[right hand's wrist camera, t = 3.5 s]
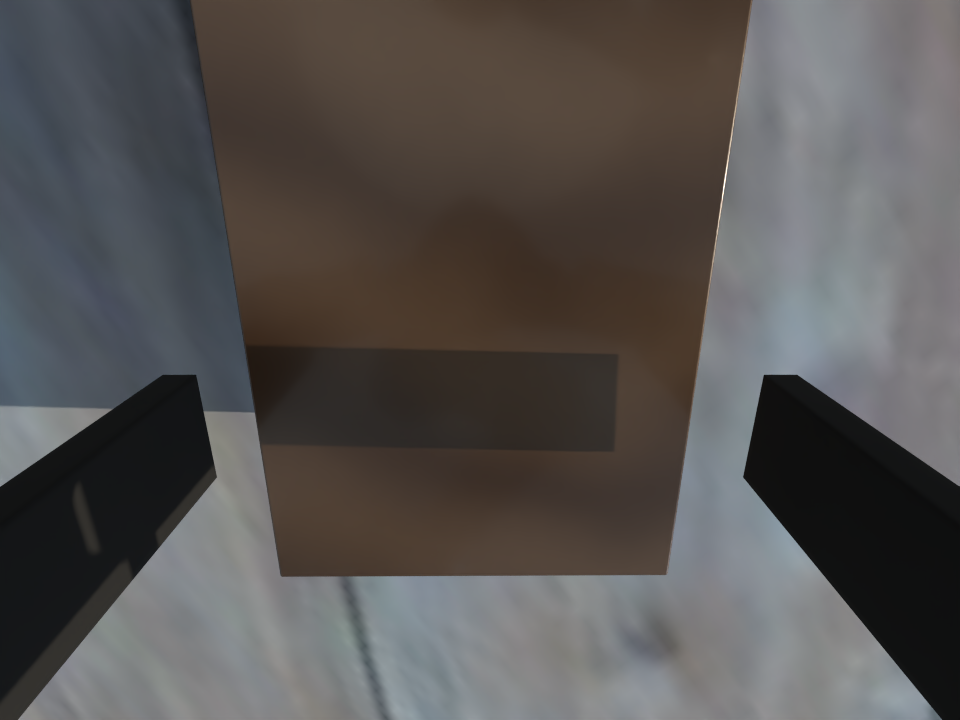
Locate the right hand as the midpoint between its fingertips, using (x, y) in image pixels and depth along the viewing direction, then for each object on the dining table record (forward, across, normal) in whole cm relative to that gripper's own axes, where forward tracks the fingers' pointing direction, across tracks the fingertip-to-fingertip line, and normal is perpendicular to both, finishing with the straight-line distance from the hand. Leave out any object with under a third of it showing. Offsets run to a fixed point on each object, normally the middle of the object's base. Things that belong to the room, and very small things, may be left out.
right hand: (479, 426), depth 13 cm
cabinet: (+12, 0, -6) cm, 13 cm away
